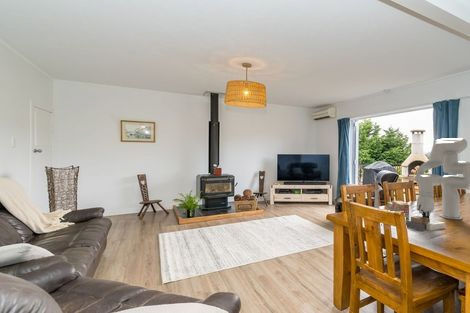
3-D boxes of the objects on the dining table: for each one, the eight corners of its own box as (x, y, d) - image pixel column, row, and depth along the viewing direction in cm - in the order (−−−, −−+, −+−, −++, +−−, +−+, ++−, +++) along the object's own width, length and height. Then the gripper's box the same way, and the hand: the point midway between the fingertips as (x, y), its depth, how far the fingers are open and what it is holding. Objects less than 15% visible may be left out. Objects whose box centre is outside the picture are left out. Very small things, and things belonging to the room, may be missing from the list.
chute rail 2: (441, 227, 153) (441, 221, 153) (445, 228, 151) (445, 222, 151) (426, 229, 149) (426, 224, 149) (429, 230, 147) (429, 224, 147)
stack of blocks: (387, 213, 189) (387, 198, 188) (395, 213, 187) (395, 198, 187) (399, 221, 168) (399, 204, 167) (409, 221, 166) (409, 204, 166)
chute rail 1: (427, 223, 162) (427, 218, 162) (430, 223, 160) (430, 218, 160) (412, 225, 158) (412, 220, 158) (415, 226, 156) (415, 220, 156)
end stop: (407, 226, 156) (407, 220, 156) (423, 230, 146) (423, 224, 146) (405, 226, 155) (406, 220, 155) (421, 231, 146) (421, 224, 146)
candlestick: (367, 218, 174) (368, 178, 173) (388, 221, 166) (388, 179, 165) (364, 222, 164) (364, 180, 163) (385, 226, 156) (386, 181, 155)
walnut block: (418, 226, 156) (418, 215, 156) (428, 228, 150) (428, 218, 150) (410, 227, 154) (410, 216, 154) (420, 230, 148) (420, 219, 148)
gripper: (427, 192, 159) (427, 218, 159) (411, 193, 155) (411, 221, 155) (440, 194, 152) (440, 222, 152) (423, 196, 147) (423, 224, 148)
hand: (425, 221), depth 154 cm, fingers closed
